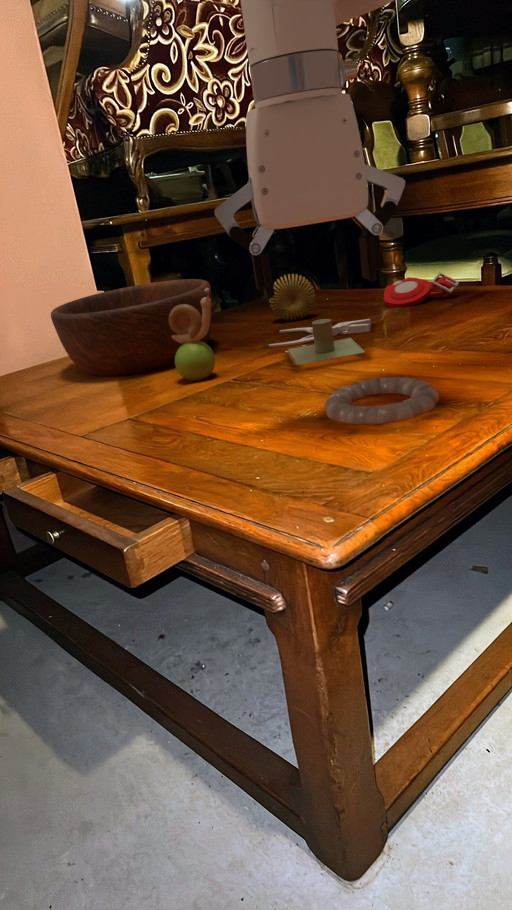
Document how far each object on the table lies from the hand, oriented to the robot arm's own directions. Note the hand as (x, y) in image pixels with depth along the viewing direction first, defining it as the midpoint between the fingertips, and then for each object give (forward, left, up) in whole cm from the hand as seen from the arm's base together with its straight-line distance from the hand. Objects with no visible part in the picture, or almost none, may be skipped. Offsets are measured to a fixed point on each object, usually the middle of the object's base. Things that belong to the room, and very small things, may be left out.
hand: (319, 287), depth 65 cm
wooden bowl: (+22, -45, -14) cm, 52 cm away
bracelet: (-5, 0, -12) cm, 13 cm away
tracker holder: (-25, -51, -14) cm, 58 cm away
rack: (-4, -25, -14) cm, 29 cm away
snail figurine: (+13, -26, -14) cm, 32 cm away
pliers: (-6, -39, -14) cm, 42 cm away
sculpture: (-4, -54, -14) cm, 56 cm away
